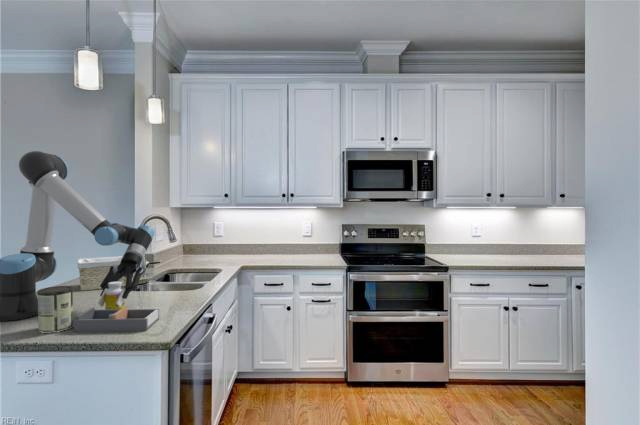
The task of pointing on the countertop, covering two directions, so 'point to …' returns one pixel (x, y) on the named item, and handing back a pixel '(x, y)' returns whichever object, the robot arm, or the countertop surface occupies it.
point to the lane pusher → (120, 314)
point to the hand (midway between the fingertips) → (109, 304)
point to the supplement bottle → (113, 296)
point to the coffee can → (55, 309)
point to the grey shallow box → (115, 320)
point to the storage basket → (97, 271)
